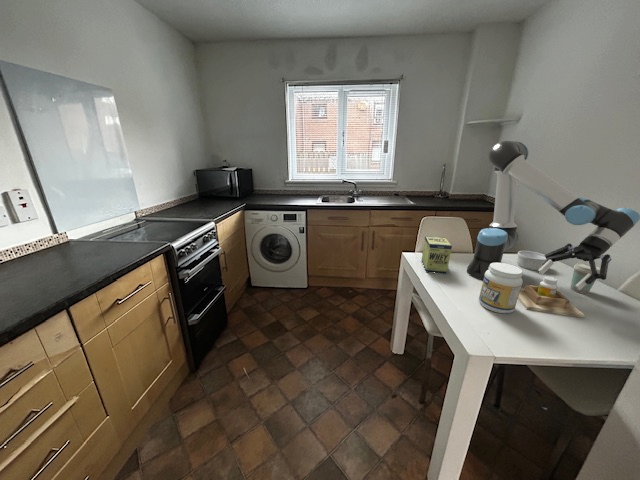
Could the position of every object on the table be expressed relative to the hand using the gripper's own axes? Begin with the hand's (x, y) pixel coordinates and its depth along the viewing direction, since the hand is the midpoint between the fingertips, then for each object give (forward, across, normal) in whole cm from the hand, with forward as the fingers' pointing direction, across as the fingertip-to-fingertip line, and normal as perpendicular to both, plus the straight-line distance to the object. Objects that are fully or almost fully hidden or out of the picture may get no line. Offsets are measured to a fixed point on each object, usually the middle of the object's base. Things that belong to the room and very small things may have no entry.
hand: (557, 279), depth 100 cm
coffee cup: (-9, +5, -25) cm, 27 cm away
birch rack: (+9, +1, -6) cm, 11 cm away
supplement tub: (+24, +3, +10) cm, 26 cm away
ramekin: (-12, +32, -28) cm, 44 cm away
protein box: (+25, +41, +10) cm, 49 cm away
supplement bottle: (+8, +1, -5) cm, 10 cm away
